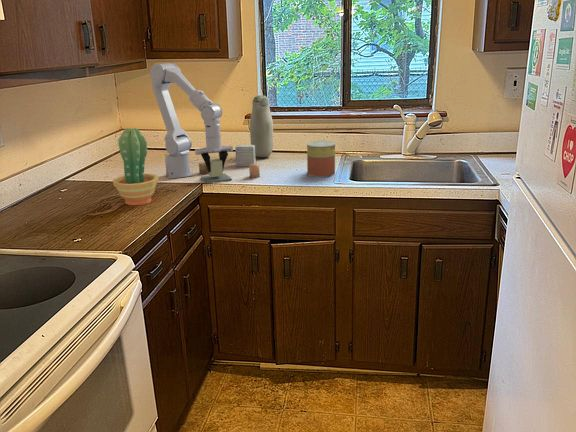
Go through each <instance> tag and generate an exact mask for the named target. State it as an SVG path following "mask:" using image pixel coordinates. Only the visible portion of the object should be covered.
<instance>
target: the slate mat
mask: <svg viewBox="0 0 576 432" xmlns="http://www.w3.org/2000/svg"><path fill="white" fill-rule="evenodd" d="M200 180H202V181H203V182H204V183H205V184H206V185H208V184H214V183H213V182H217V183H222V182H221V181H225V182H230V180H232V178H231V176H229V175H228V174H226V173H223V176H217V177H211V176H210V175H209V174H208V175H202V176H200Z"/></svg>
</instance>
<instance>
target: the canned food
mask: <svg viewBox="0 0 576 432" xmlns="http://www.w3.org/2000/svg"><path fill="white" fill-rule="evenodd" d="M306 153H307V154H306V156H307V157H306V158H307V161H306V162H307V165H306V167H307V170H306V171H307V172H306V175H308V176H311V177H316V178H317V177H318V178H319V177H320V178H321V177H322V178H323V177H325V178H326V177H332V176H333V175H336V143H335V142H333V141H328V140H327V141H326V140H321V141H320V140H317V141H310V142H307V143H306Z"/></svg>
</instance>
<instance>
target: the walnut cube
mask: <svg viewBox="0 0 576 432" xmlns="http://www.w3.org/2000/svg"><path fill="white" fill-rule="evenodd" d="M198 171H199V174H201V175H202V176H207V175H209V172H208V170H207V166H206V164H205V162H202V163H198Z"/></svg>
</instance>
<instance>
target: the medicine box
mask: <svg viewBox="0 0 576 432" xmlns="http://www.w3.org/2000/svg"><path fill="white" fill-rule="evenodd" d="M234 150H235V166H236V167H238V168H239V167H249V164H253V163H256V161H257V160H256V156H255V145H251V144H238V145H236V146H235V148H234Z"/></svg>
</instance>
